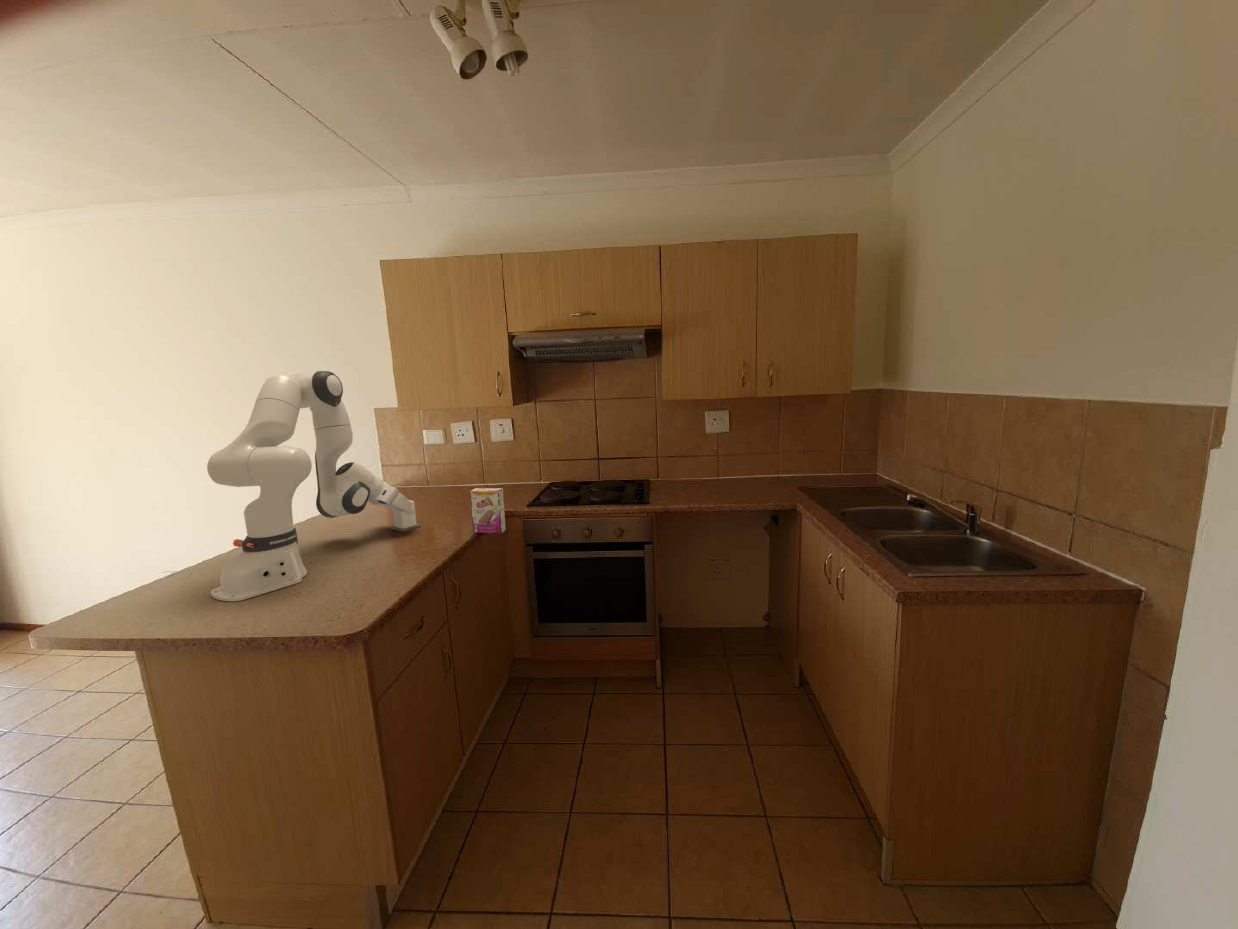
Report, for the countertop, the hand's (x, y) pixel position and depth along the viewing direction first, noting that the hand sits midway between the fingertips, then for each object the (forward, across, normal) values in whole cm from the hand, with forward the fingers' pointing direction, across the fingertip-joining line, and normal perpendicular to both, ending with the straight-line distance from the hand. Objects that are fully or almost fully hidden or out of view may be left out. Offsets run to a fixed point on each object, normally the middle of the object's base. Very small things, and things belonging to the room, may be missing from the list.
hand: (405, 511), depth 190 cm
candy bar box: (+13, +34, +4) cm, 37 cm away
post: (+4, 0, -5) cm, 6 cm away
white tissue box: (+4, 0, -4) cm, 6 cm away
